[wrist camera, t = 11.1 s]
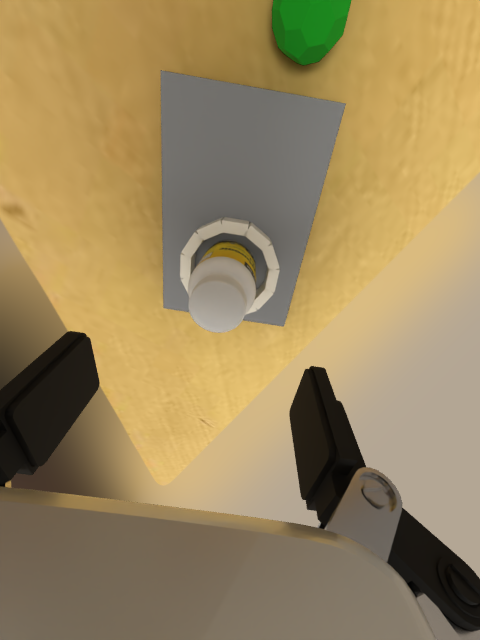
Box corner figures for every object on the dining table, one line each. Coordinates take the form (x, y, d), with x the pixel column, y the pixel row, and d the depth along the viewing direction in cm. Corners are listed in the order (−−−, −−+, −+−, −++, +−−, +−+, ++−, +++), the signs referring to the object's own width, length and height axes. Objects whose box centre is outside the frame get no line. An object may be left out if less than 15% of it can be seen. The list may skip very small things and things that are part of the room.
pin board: (166, 77, 20) (150, 59, 16) (339, 108, 20) (355, 95, 17) (167, 302, 30) (157, 316, 26) (282, 320, 30) (285, 336, 27)
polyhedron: (257, 50, 19) (258, 13, 14) (294, -46, 16) (307, -122, 12) (313, 89, 19) (329, 65, 15) (355, 4, 17) (387, -51, 13)
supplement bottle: (267, 265, 25) (273, 309, 17) (231, 299, 27) (220, 354, 19) (227, 226, 23) (211, 253, 15) (192, 266, 26) (161, 310, 17)
